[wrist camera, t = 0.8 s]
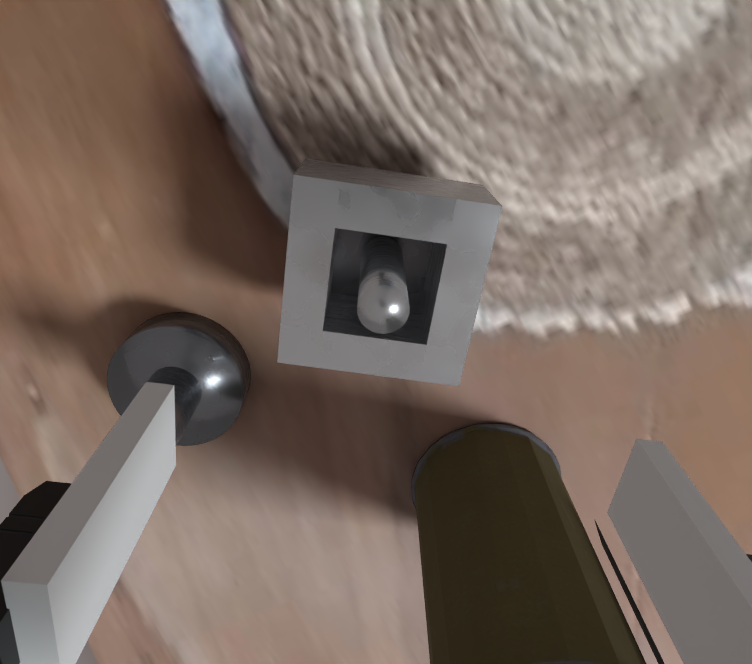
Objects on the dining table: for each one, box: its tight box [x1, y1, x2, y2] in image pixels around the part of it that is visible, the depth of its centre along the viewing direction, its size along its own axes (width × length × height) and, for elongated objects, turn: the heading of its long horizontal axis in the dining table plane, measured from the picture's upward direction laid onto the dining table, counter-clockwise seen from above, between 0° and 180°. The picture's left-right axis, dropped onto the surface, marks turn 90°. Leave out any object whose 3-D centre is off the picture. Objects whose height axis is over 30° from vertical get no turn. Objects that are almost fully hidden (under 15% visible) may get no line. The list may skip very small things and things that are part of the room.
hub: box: [105, 312, 251, 446], centre depth 32 cm, size 8×8×9 cm
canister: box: [412, 424, 664, 664], centre depth 31 cm, size 11×10×20 cm
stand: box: [331, 228, 432, 334], centre depth 28 cm, size 7×7×10 cm
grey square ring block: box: [277, 158, 502, 386], centre depth 28 cm, size 9×9×5 cm
